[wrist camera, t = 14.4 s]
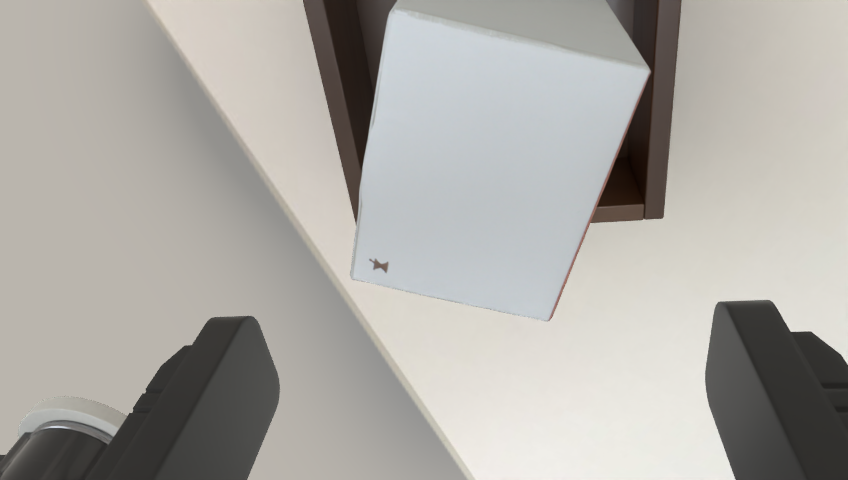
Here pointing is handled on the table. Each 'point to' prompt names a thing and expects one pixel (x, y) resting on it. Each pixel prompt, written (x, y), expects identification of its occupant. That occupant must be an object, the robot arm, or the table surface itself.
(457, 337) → the table surface
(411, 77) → the small box
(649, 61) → the box
